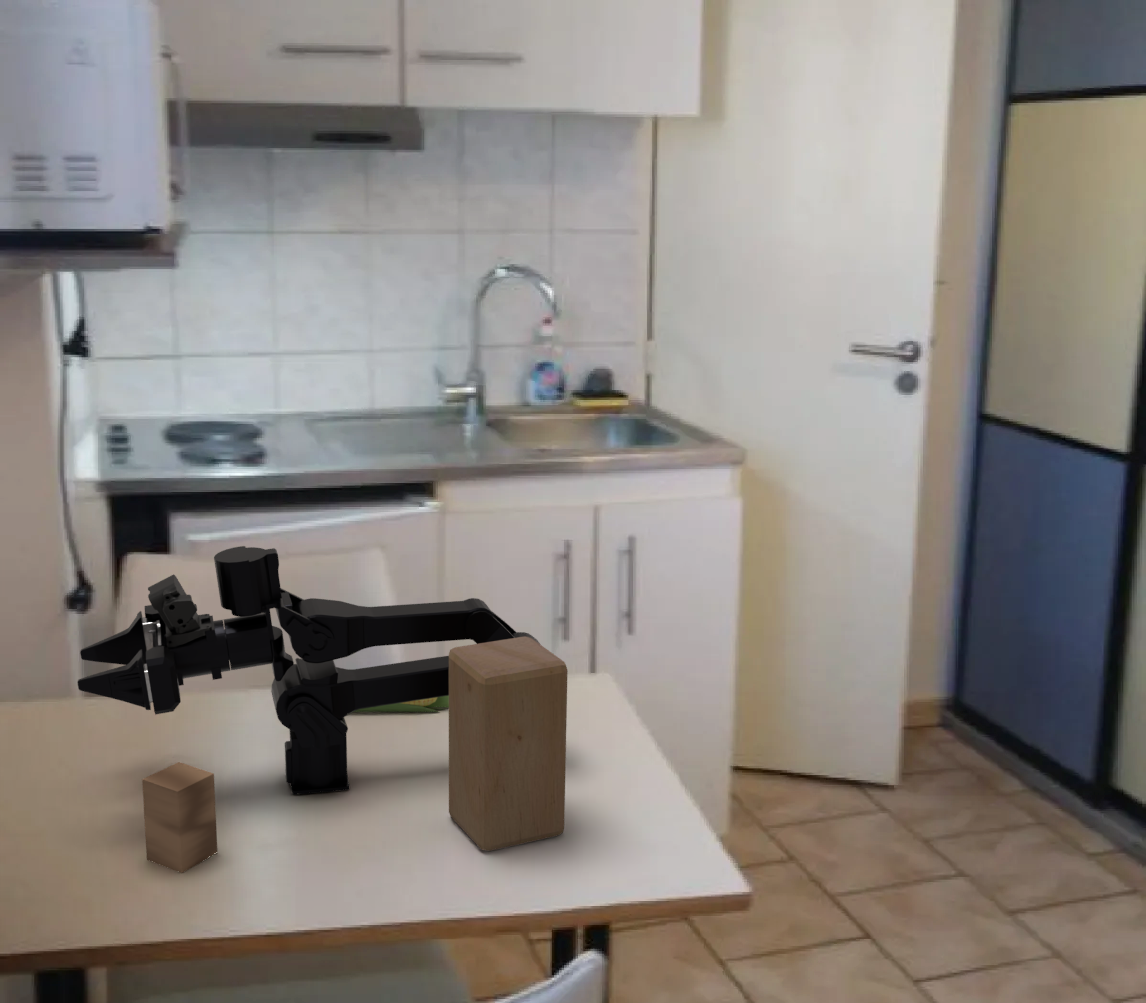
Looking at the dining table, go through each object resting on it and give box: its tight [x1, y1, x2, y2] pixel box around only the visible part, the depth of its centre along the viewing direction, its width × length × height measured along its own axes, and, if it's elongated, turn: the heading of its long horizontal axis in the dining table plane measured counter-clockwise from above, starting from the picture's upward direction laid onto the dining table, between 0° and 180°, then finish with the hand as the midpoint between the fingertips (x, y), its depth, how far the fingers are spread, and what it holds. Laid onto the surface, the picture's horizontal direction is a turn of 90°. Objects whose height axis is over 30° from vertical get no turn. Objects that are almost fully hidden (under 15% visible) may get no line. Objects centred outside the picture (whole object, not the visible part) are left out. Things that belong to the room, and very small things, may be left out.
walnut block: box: [141, 761, 218, 874], centre depth 151 cm, size 5×5×9 cm
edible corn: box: [352, 696, 449, 713], centre depth 191 cm, size 5×20×5 cm
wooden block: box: [448, 636, 568, 852], centre depth 158 cm, size 10×10×20 cm
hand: (79, 669), depth 159 cm, fingers open, 9 cm apart
